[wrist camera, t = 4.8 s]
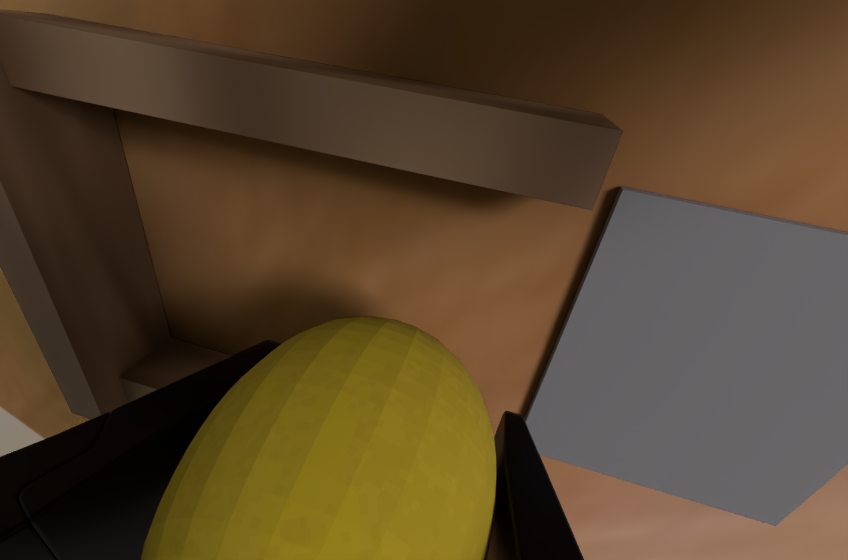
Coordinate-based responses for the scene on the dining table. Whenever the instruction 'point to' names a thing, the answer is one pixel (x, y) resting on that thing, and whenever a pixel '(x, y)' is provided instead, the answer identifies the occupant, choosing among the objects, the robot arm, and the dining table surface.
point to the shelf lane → (230, 112)
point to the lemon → (338, 456)
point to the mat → (704, 357)
